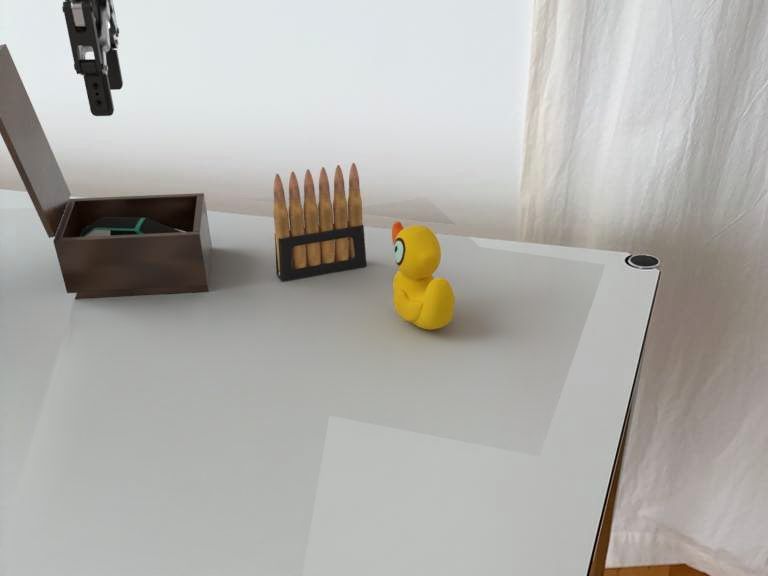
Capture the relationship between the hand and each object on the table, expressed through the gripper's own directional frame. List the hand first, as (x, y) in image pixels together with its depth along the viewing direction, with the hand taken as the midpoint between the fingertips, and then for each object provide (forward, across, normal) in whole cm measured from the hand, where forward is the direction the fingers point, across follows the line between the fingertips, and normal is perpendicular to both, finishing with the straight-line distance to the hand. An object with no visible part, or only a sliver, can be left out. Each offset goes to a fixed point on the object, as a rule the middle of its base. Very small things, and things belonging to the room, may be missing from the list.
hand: (108, 101), depth 94 cm
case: (+19, 0, 0) cm, 19 cm away
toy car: (+18, 0, 0) cm, 18 cm away
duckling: (+19, +15, +31) cm, 39 cm away
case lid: (+4, 0, -9) cm, 10 cm away
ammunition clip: (+19, +2, +21) cm, 28 cm away
